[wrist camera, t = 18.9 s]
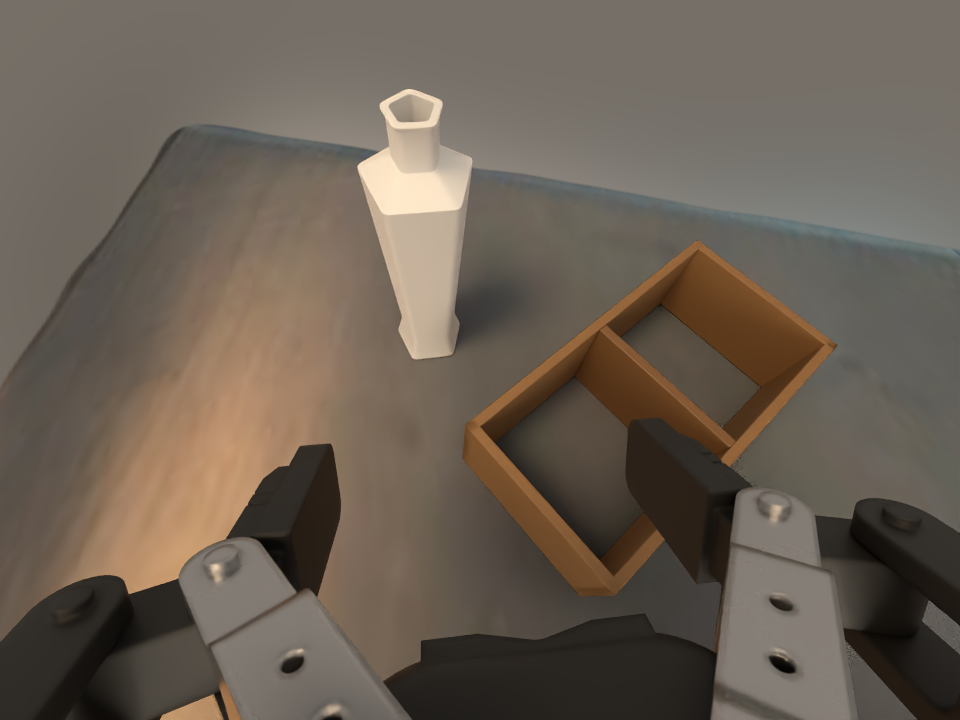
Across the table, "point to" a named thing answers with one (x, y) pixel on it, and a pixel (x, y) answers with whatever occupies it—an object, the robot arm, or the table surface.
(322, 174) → the table surface
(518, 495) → the divided tray
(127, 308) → the table surface
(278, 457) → the table surface
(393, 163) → the perfume bottle
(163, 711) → the robot arm
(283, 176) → the table surface
